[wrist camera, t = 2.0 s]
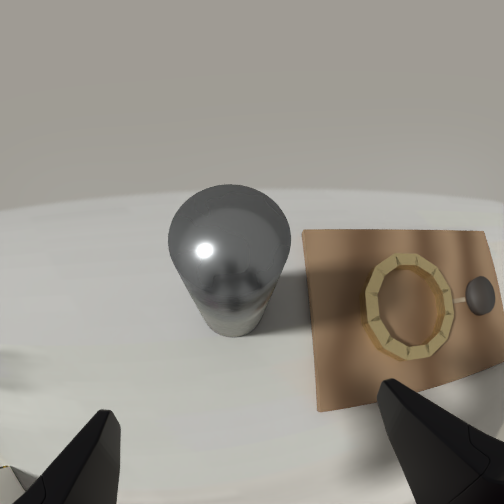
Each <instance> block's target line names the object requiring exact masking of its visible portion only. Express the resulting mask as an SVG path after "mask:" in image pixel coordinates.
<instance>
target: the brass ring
mask: <svg viewBox="0 0 504 504" xmlns="http://www.w3.org/2000/svg"><path fill="white" fill-rule="evenodd" d="M392 270H410V271H412V272H414V273H415V274H417V275H418V276H420V277H422V278H423V279H425V281H426V282H427V284H428V286H429V287H430V289H431V290H432V292H433V294H434V295H435V300H436V308H437V319H436V322H435V326H434V329H433V332H432V334H431V335H430V336H429V337H428V338H427V339H426V340H425V341H424V342H423V343H422V344H421V345H420V346H413V347H408V346H406V345H404V344H403V343H401V342H399V341H397V340H395V339H393V338H392V337H391V336H390V334H389V333H388V331H387V329H386V328H385V326H384V324H383V323H382V321H381V319H380V317H379V306H378V296H377V294H378V292H379V289H380V287H381V284H382V282H383V279H384V276H385V275H387V274H388V273H389V272H391V271H392ZM359 301H360V313H361V324H363V325H362V327H363V328H364V330H365V332H366V333H367V335H368V337H369V338H370V340H371V342H372V343H373V345H374V347H375V348H376V349H377V350H378V351H380V352H382V353H383V354H385V355H387V356H389V357H391V358H393V359H395V360H397V361H399V362H400V361H407V360H414V359H420V358H426V357H430V356H431V355H432V354H433V353H434V352H435V351H436V350H437V349H438V348H439V347H440V346H441V345H442V344H443V343H444V342H445V341H446V340H447V339H448V335H449V332H450V329H451V325H452V321H453V318H454V309H453V302H452V295H451V289H450V287H449V285H448V284H447V282H446V280H445V279H444V277H443V275H442V274H441V272H440V271H439V269H438V267H437V266H435V265H434V264H432V263H431V262H429V261H428V260H426V259H424V258H423V257H421V256H420V255H418V254H410V253H394V254H393V255H391V256H390V257H388V258H387V259H385V260H384V261H382V262H381V263H380V264H378V265H377V266H375V267H374V268H373V269H372V270H371V271H370V272H369V274H368V276H367V278H366V281H365V283H364V285H363V288H362V290H361V292H360V296H359Z"/></svg>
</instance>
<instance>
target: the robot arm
mask: <svg viewBox="0 0 504 504" xmlns="http://www.w3.org/2000/svg"><path fill="white" fill-rule="evenodd" d="M377 403H378V406H379V409H380V412H381V415H382V419H383V422H384V425H385V428H386V432H387V435H388V437H389V440H390V442H391V444H392V447H393V449H394V451H395V453H396V456H397V458H398V460H399V463H400V465H401V467H402V470H403V472H404V474H405V477H406V479H407V481H408V484H409V486H410V489H411V491H412V494H413V496H414V498H415V501H416V503H417V504H504V442H503V441H500V440H498V439H496V438H493V437H491V436H489V435H487V434H485V433H483V432H482V431H480V430H478V429H476V428H474V427H473V426H471V425H469V424H467V423H466V422H464V421H463V420H461V419H459V418H458V417H456V416H454V415H453V414H451V413H449V412H448V411H446V410H444V409H443V408H441V407H439V406H438V405H436V404H435V403H433V402H431V401H430V400H428V399H426V398H425V397H423V396H422V395H420V394H418V393H417V392H415V391H414V390H412V389H410V388H409V387H407V386H406V385H404V384H402V383H401V382H399V381H398V380H396V379H394V378H390V379H386V380H383V381H382V382H381V385H380V388H379V391H378V394H377ZM120 437H121V428H120V424H119V422H118V421H117V419H116V417H115V415H114V414H113V412H112V411H111V410H103V409H102V410H99V411H98V412H97V413H96V414H95V415H94V416H93V417H92V418H91V419H90V421H89V422H88V423H87V424H86V425H85V426H84V427H83V428H82V430H81V431H80V432H79V433H78V434H77V435H76V436H75V437H74V438H73V440H72V441H71V442H70V443H69V444H68V445H67V446H66V447H65V449H64V450H63V451H62V452H61V453H60V454H59V455H58V456H57V458H56V459H55V460H54V461H53V462H52V463H51V464H50V465H49V467H48V468H47V469H46V470H45V471H44V472H43V473H42V475H41V476H40V477H39V478H38V479H37V480H36V481H35V482H34V483H33V484H32V485H31V487H30V488H29V489H28V490H27V491H26V492H24V493H23V494H22V495H21V496H20V497H19V498H18V499H17V500H16V501H15V502H13V503H12V504H116V502H117V492H118V482H119V473H120Z"/></svg>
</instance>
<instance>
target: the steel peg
mask: <svg viewBox="0 0 504 504" xmlns="http://www.w3.org/2000/svg"><path fill="white" fill-rule="evenodd" d="M168 246H169V252H170V256H171V259H172V261H173V263H174V265H175V267H176V269H177V271H178V273H179V275H180V277H181V279H182V280H183V282H184V284H185V286H186V288H187V290H188V291H189V293H190V295H191V297H192V299H193V300H194V302H195V304H196V306H197V308H198V309H199V311H200V313H201V315H202V316H203V318H204V320H205V322H206V323H207V325H208V326H209V327H210V328H211V329H212V330H213V331H214V332H216V333H218V334H220V335H222V336H226V337H240V336H243V335H245V334H248V333H249V332H251V331H252V330H253V329H254V328H255V327H256V326H257V325H258V323H259V321H260V319H261V317H262V315H263V313H264V311H265V308H266V306H267V304H268V302H269V299H270V297H271V295H272V293H273V290H274V288H275V286H276V283H277V281H278V279H279V277H280V274H281V272H282V270H283V267H284V265H285V263H286V260H287V258H288V255H289V252H290V246H291V234H290V228H289V224H288V221H287V219H286V217H285V215H284V213H283V212H282V210H281V209H280V208H279V206H278V205H277V204H276V203H275V202H274V201H273V200H272V199H271V198H269V197H268V196H267V195H265V194H263V193H262V192H260V191H258V190H255V189H253V188H250V187H247V186H242V185H232V184H230V185H218V186H214V187H210V188H207V189H205V190H202V191H200V192H198V193H196V194H195V195H193V196H192V197H190V198H189V199H188V200H187V201H186V202H185V203H184V204H183V205H182V206H181V207H180V208H179V210H178V211H177V213H176V214H175V216H174V218H173V220H172V223H171V225H170V229H169V234H168Z"/></svg>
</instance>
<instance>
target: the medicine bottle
mask: <svg viewBox="0 0 504 504" xmlns="http://www.w3.org/2000/svg"><path fill="white" fill-rule="evenodd" d="M24 492H25V491H24V489H23V488H22V486H21V484H20V483H19V481H18V479H17V478H16V476H15V474H14V473H13V471H12V469H11V468H10V467H9V466H3V467H0V504H12V503H13V502H15V501H16V500H17V499H18V498H19V497H20V496H21V495H22V494H23V493H24Z"/></svg>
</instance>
